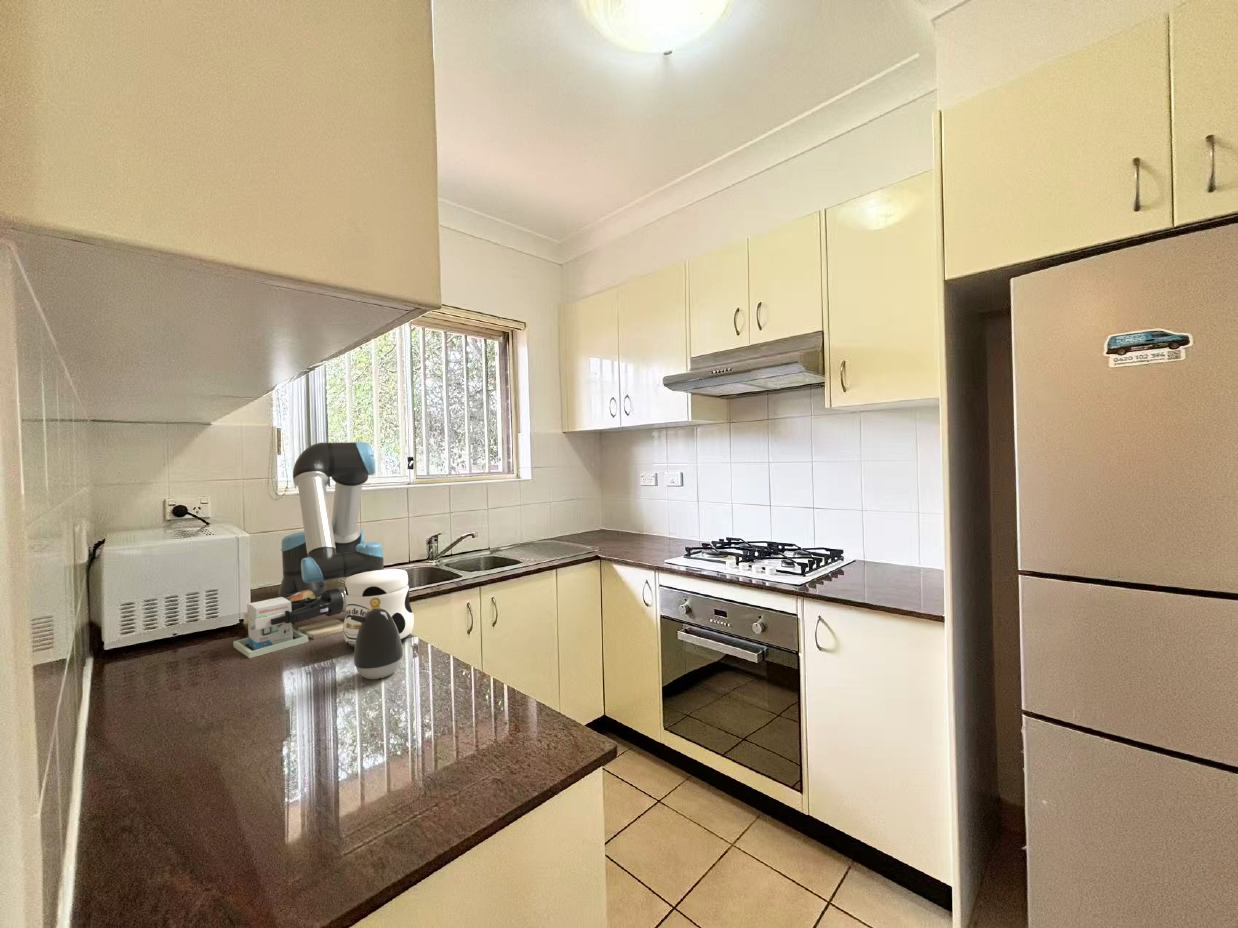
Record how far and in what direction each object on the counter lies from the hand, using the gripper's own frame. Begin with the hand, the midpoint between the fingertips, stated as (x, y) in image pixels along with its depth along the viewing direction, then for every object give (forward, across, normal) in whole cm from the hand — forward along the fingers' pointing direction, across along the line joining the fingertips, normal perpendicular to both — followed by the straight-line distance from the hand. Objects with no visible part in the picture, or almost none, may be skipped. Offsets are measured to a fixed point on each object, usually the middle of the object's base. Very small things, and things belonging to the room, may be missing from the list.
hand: (249, 621), depth 136 cm
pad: (-18, 0, -8) cm, 20 cm away
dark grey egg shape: (-13, -45, -8) cm, 47 cm away
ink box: (-5, 0, -8) cm, 9 cm away
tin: (-18, +18, -8) cm, 26 cm away
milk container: (-23, -24, -8) cm, 34 cm away
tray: (-5, 0, -8) cm, 9 cm away
